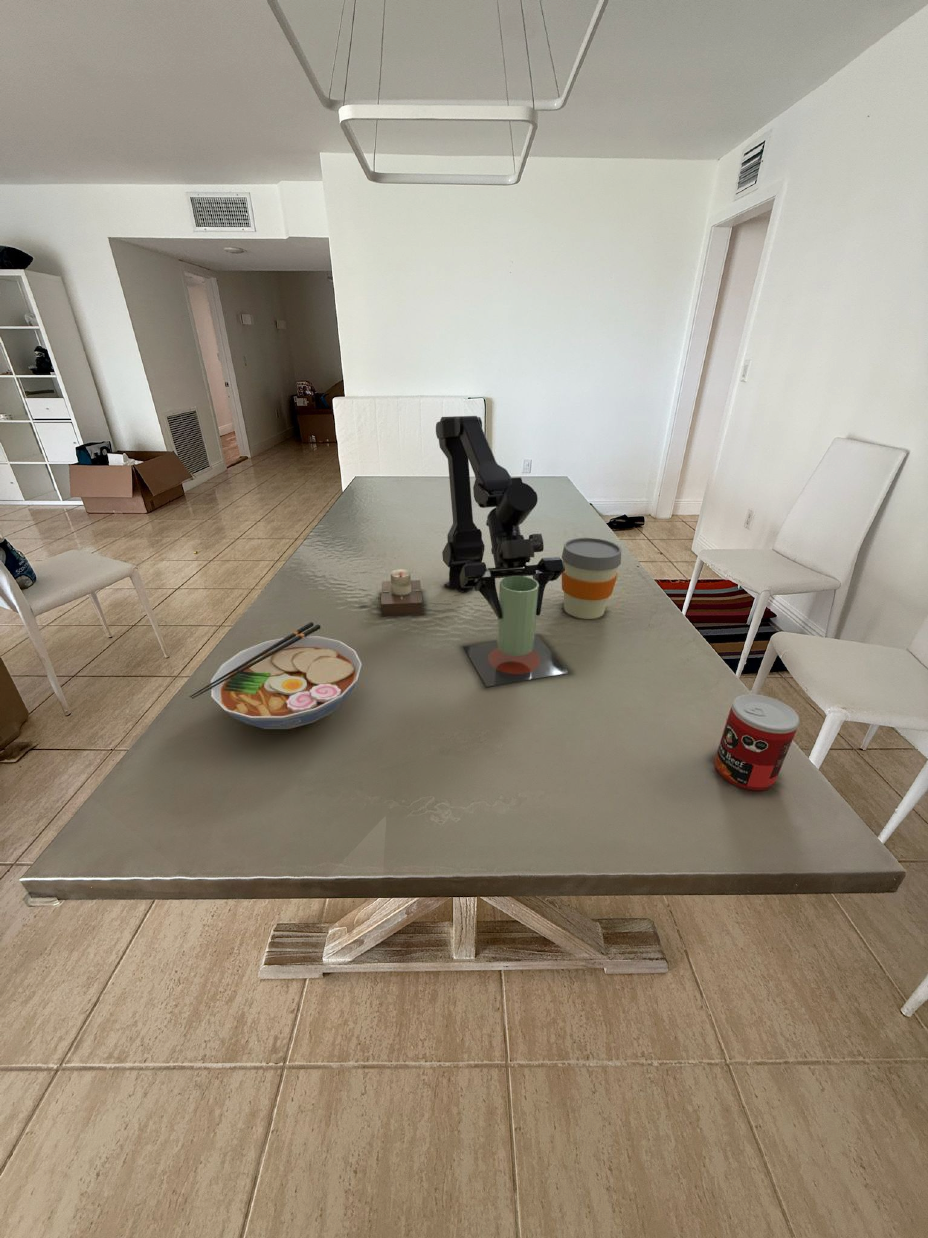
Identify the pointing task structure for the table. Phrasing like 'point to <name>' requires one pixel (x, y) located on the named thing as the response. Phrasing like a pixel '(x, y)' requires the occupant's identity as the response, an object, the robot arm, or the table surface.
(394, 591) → the cream jar candle
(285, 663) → the ramen bowl
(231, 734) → the table surface
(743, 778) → the canned food
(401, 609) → the brown flat block
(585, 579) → the reusable coffee cup
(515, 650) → the tumbler
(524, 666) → the hob
